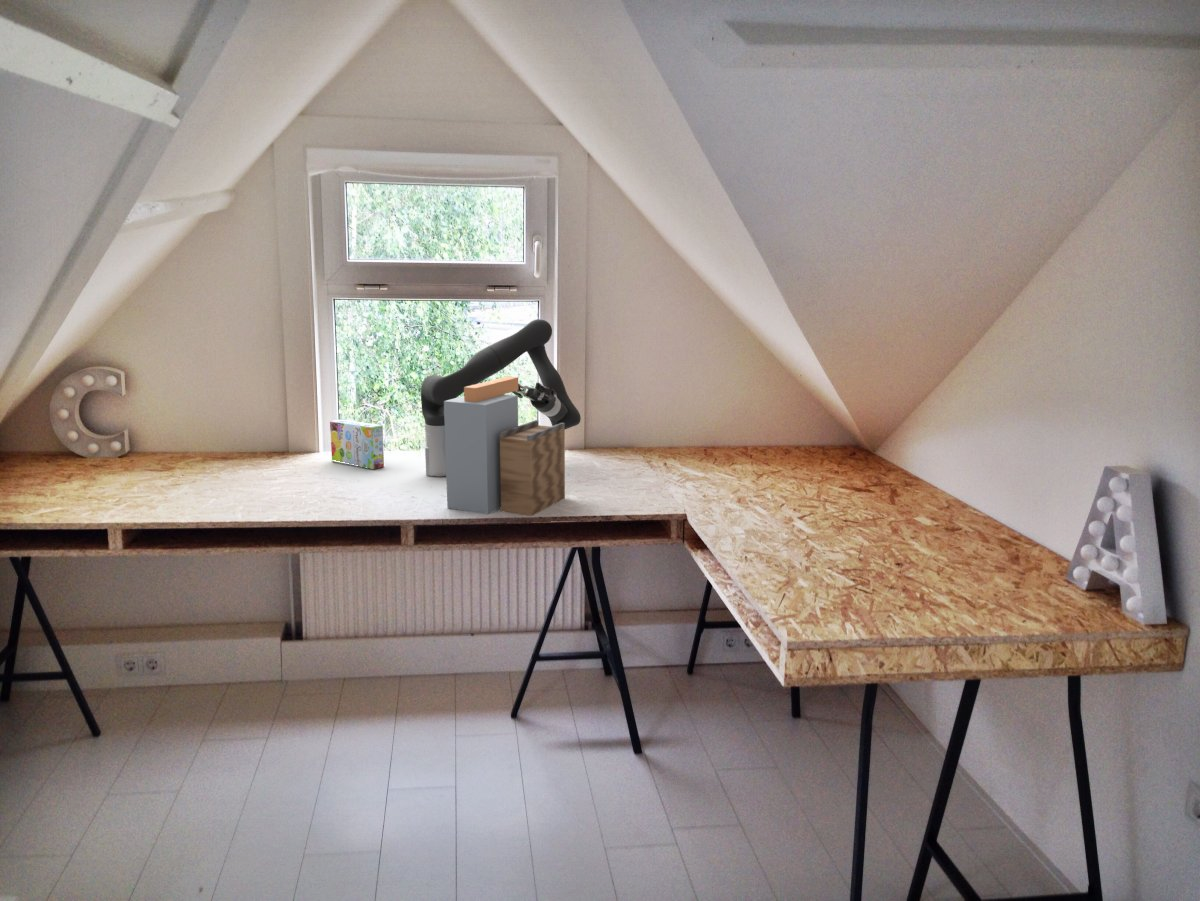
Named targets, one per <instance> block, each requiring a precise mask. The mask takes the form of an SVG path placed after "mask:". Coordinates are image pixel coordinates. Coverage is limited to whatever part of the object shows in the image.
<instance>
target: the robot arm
mask: <svg viewBox="0 0 1200 901" xmlns="http://www.w3.org/2000/svg"><path fill="white" fill-rule="evenodd" d="M552 336H553V328H552V326H551V324H550V323H549V322H548V321H547V320H545V319H541V318H539V319H533V320H531V321H530V322H529V323H527V324H526V325H525V326H523V327H522V328H521V329H520V330H518V331H517V332H515V333H514V334H511V335H510V336H507V337H506V338H502V339H500V340H498V341H497V342H496V341H495V342H494V343H492V344H490V345H488V346H486V347H484V348H482V349H481V350H479V351H477V352H475V354H473V355H472V356H471V357H470V358H469V359H468V361H467V362H466V363H465V364H464V366H463V367H461V368H459V369H458V370H456V371H454V372H452V373H450V374H448V375H445V376H442V375H438V374H431V375H428V376H426V377H425V378H424V379H423V381H422V383H421V386H420V387H421V388H420V401H421V403H420V404H421V411H422V412H421V413H422V416H423V419H424V429H425V430H424V431H425V433H424V435H425V448H424V456H425V476H429V477H430V476H431V477H446V450H445V420H444V401H446V400H450V399H454V398H458V397H460V396H461V395H462V394H464V387H467V386H471V385H475V384H479V383H482V382H484V380H487V379H488V378H490V377H492V376H493V375H496V374H497V373H499V372H501V371H502V370H503V369H505V368H507V367H508V366H509V365H511V364H512V363H513V362H514V361H516V360H517V359H518V358H520V357H521V356H522V355H523V354H525V353H526V352H527V354H528V356H529V358H530V359H531V362H532V364H533V366H534V369H535V370H536V372H537V374H538V376H539V379H540V381H541V383H540V382H535V387H531V386H528V385H524V386H523V385H521V384H520V383H519V382H518V390H517V391H514V392H511V393H512V394H513V395H516V396H518V399H523V398H527V399H529V400H530V404H531V406H533V408H534V409H536V410H537V411H538V412H540V413H541V414H542V415H544V416H546V417H547V418H548V419H549V422H550V424H551V426H554V425H557V424H560V423H565V430H567V429H570V428H573V427H576V426H578V425H579V424H580V423H581V419H582V418H581V413H580V411H579V410H578V408H577V407H576V406H575V404H574V403H573V402H572V400H571V398H570V396H569V395H568V391H566V390H567V389H566V387H565V385H564V381H563V379H562V377H561V374H560V373H559V372H558V370H557V369H556V367H555V366H554V365H553V363H552V362H551V360H550V358H549V356H548V354H547V351H546V346H545V345H546V344H547V343H548V342H549V341H550V339H551V337H552Z"/></svg>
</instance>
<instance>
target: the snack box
mask: <svg viewBox="0 0 1200 901" xmlns="http://www.w3.org/2000/svg"><path fill="white" fill-rule="evenodd" d="M329 428H330V429H329V431H330V446H331V461H332V460H336V461H340V462H345V463H349V464H354V465H358V466H362V467H367V468H366V469H368V468H372V469H371V470H373V469H374V470H377V469H376V468H378V469H381V468H380V467H383V468H384V467H385V462H384V461H385V459H384V458H385V457H384V454H385V453H384V428H383V425H382V424H376V423H371V422H370V423H368V422H363V421H362V422H361V421H355V420H348V419H335V420H330V421H329ZM362 467H361V468H362Z"/></svg>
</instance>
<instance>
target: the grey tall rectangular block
mask: <svg viewBox="0 0 1200 901" xmlns="http://www.w3.org/2000/svg"><path fill="white" fill-rule="evenodd" d="M444 420H445V450H446V476H445V478H446V481H445V482H446V504H447V507H446V508H447V509H449V508H451V509H450V510H456V509H459V510H458V511H463V510H464V512H472V513H476V514H477V513H478V514H485V515H489V514H491V513H494V512H496V511H498V510H501V475H500V432H503V431H506V430H509V429H512V428H514V427H517V426H519V397H518V396H516V395H515V394H503V395H499V396H496V397H492V398H489V399H485V400H481V401H478V402H471V401H464V395H462V396H458V397H457V398H454V399H450V400H446V401H444Z"/></svg>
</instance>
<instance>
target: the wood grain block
mask: <svg viewBox="0 0 1200 901" xmlns="http://www.w3.org/2000/svg"><path fill="white" fill-rule="evenodd" d="M565 430H566V429H565V423H560V424H557V425H554V426H552V425H551V426H549V425H548V426H547V425H540V424H539V420H538V419H537V420H536V419H534V420H532V421H529V422H526V423H524V424H520V425H518V426H517V427H514V428H512V429H509V430H506V431H503V432H500V475H501V508H500V510H501V511H500V512H503V513H510V514H516V515H524V516H527V517H528V516H529V517H530V516H531V517H532V516H534V515H535V514H538V513H540V512H541V511H543V510H545V509H548V508H549V507H551V506H553V505H555V504H557V503H558V502H560V501H562V500H564V499H565V498H566V489H565V488H566V479H565V478H566V476H565V474H566V473H565V470H566V461H565V458H566V457H565V454H566V452H565V451H566V450H565V449H566V446H565V445H566V442H565V435H566V434H565Z"/></svg>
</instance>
